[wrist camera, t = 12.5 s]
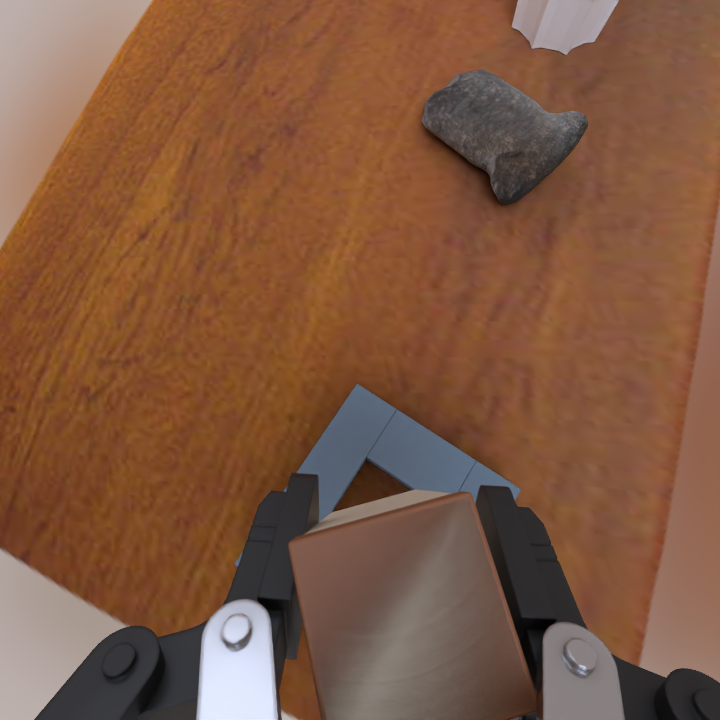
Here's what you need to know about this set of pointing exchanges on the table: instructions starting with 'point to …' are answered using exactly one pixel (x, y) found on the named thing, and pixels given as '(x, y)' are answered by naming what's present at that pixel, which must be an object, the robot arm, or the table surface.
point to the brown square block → (408, 614)
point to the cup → (561, 22)
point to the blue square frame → (389, 454)
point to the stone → (502, 131)
